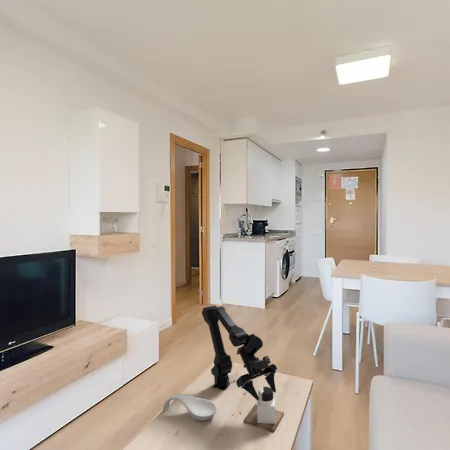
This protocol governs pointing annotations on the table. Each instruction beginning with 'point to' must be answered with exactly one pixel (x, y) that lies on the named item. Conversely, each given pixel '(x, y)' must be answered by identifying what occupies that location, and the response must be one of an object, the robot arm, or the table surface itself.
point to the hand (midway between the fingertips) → (266, 395)
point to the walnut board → (252, 420)
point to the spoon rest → (194, 406)
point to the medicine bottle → (266, 406)
